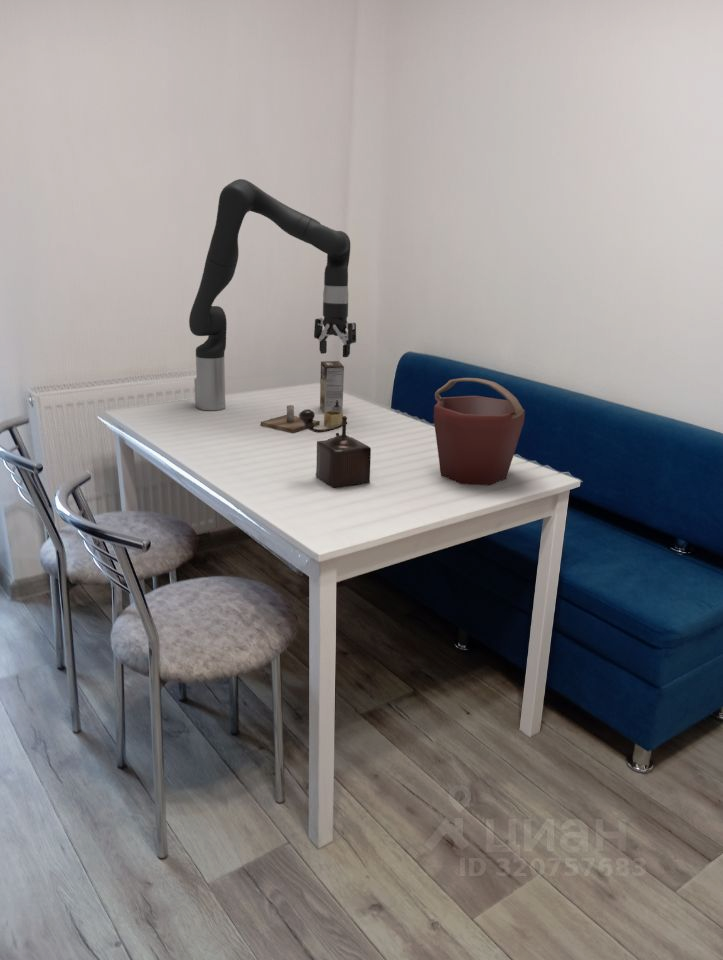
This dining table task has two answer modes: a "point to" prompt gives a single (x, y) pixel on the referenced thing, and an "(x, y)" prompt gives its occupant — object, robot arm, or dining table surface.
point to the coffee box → (331, 386)
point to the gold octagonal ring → (332, 418)
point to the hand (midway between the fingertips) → (334, 355)
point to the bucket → (477, 434)
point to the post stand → (287, 422)
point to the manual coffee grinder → (339, 456)
